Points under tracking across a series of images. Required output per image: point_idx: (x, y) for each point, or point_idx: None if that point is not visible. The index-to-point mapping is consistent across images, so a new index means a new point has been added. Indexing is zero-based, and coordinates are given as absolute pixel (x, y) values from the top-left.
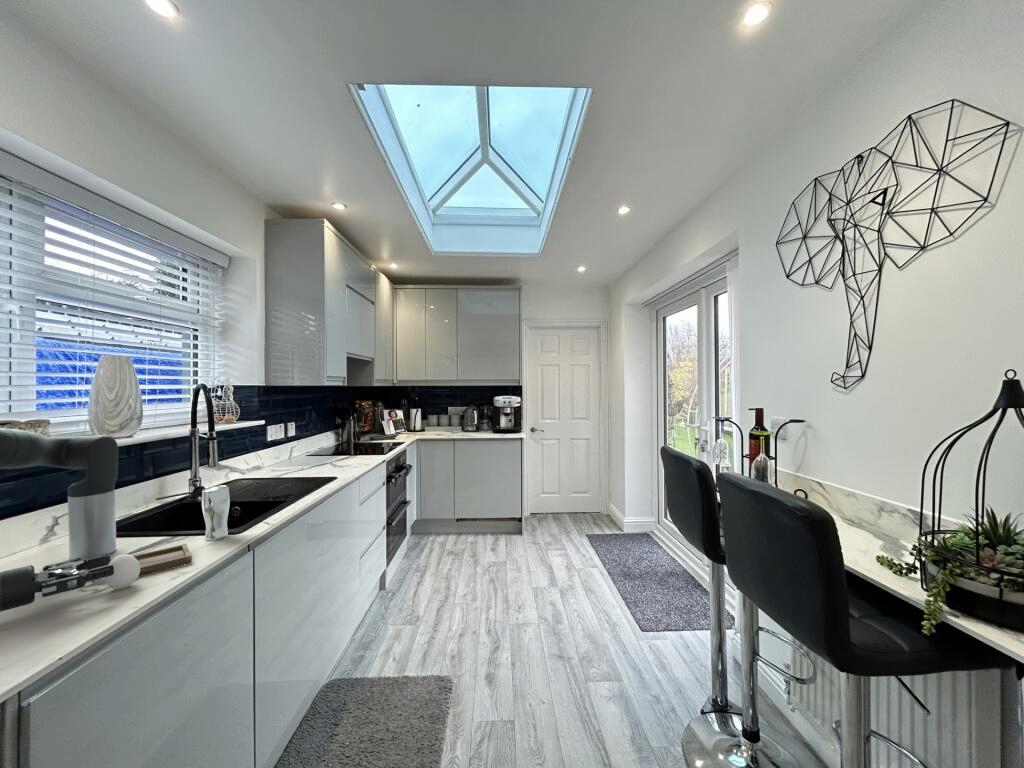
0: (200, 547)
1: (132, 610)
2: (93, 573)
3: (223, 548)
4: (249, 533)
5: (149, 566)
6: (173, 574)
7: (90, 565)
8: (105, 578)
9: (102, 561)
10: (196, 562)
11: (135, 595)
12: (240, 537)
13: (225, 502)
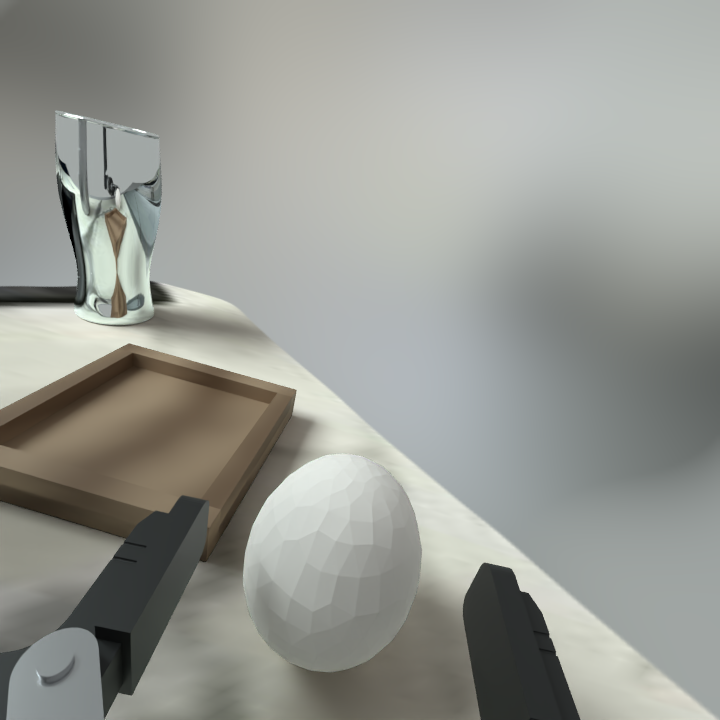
0: None
1: (682, 693)
2: (569, 711)
3: (252, 351)
4: (203, 302)
5: (248, 469)
6: None
7: (140, 648)
8: (354, 652)
9: (186, 561)
10: (298, 408)
11: None
12: (209, 314)
13: (161, 194)
